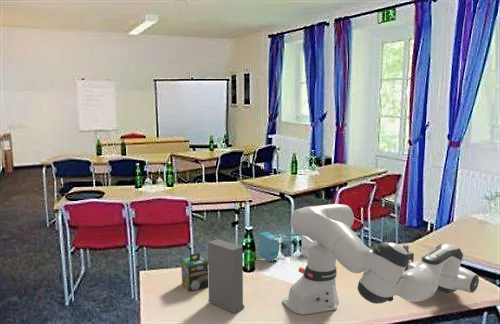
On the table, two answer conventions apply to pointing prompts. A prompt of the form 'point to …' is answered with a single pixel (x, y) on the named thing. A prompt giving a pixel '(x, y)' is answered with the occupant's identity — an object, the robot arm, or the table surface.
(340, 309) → the table surface
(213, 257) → the tall grey upright box
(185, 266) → the chalk box
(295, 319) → the table surface
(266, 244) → the data package
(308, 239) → the white angled block
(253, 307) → the table surface
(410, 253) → the plug
